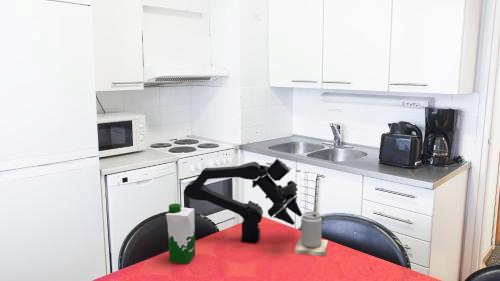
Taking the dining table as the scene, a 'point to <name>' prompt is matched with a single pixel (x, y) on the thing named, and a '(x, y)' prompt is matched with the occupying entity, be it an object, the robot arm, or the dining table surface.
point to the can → (311, 229)
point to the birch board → (311, 251)
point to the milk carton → (181, 234)
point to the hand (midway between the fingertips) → (297, 220)
